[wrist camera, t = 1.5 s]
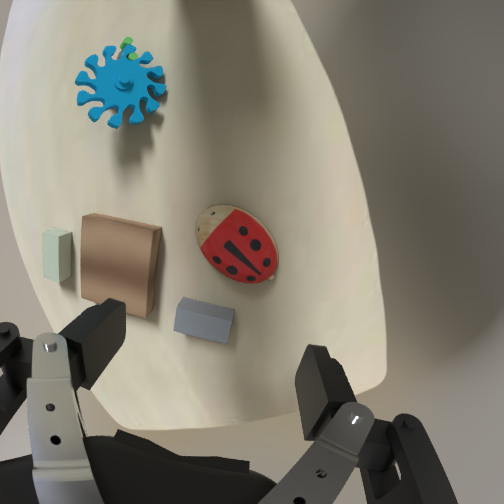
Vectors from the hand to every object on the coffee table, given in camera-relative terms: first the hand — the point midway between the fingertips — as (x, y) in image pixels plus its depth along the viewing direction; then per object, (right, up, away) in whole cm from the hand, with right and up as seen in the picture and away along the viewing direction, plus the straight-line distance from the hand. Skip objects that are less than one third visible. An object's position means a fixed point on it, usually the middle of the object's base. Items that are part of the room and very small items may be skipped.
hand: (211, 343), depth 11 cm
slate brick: (-4, -3, +20) cm, 20 cm away
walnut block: (-13, +3, +19) cm, 23 cm away
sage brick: (-23, +4, +18) cm, 30 cm away
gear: (-11, +22, +13) cm, 28 cm away
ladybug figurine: (0, +5, +18) cm, 19 cm away
